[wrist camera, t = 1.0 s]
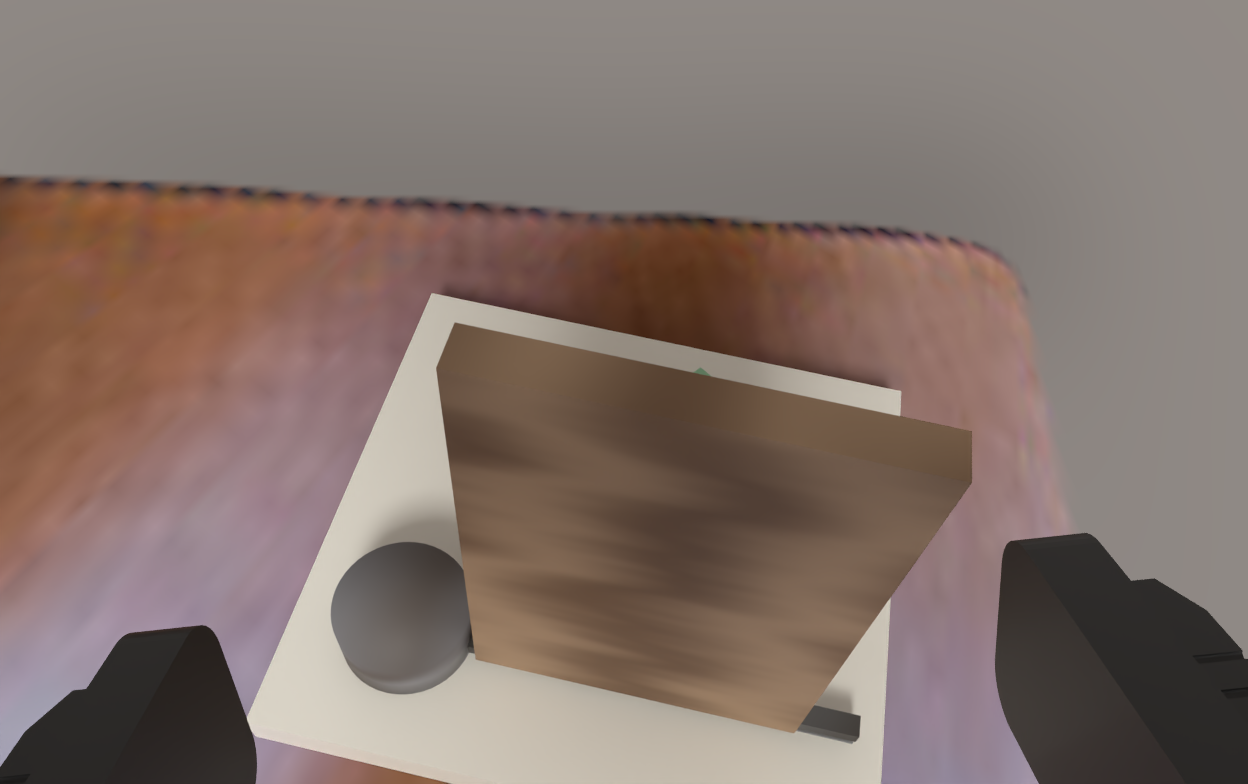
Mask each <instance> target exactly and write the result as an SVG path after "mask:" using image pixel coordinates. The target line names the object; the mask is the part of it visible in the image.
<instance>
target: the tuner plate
mask: <svg viewBox="0 0 1248 784" xmlns="http://www.w3.org/2000/svg"><path fill="white" fill-rule="evenodd" d="M454 323H460V324H465V325H470V326H474V327H479V328H484V329H489V330H493V331H498V332H503V333H508V334H512V335H517V336H522V337H527V338H531V339H536V340H541V341H546V342H550V343H555V344H560V345H565V346H569V347H574V348H579V349H584V350H588V351H593V352H598V353H603V354H607V355H612V356H617V357H622V358H626V359H631V360H636V361H640V362H645V363H650V364H655V365H659V366H664V367H669V368H674V369H678V370H683V371H688V372H693V373H697V374H702V375H707V376H712V377H716V378H721V379H726V380H731V381H735V382H740V383H745V384H750V385H754V386H759V387H764V388H769V389H773V390H778V391H783V392H788V393H792V394H797V395H802V396H807V397H811V398H816V399H821V400H826V401H830V402H835V403H840V404H844V405H849V406H854V407H859V408H863V409H868V410H873V411H878V412H882V413H887V414H892V415H897V416H900V408H901V391H897V390H893V389H888V388H883V387H878V386H873V385H869V384H864V383H859V382H854V381H850V380H845V379H840V378H835V377H830V376H826V375H821V374H816V373H811V372H807V371H802V370H797V369H792V368H787V367H783V366H778V365H773V364H768V363H763V362H759V361H754V360H749V359H744V358H740V357H735V356H730V355H725V354H720V353H716V352H711V351H706V350H701V349H697V348H692V347H687V346H682V345H677V344H673V343H668V342H663V341H658V340H654V339H649V338H644V337H639V336H634V335H630V334H625V333H620V332H615V331H611V330H606V329H601V328H596V327H591V326H587V325H582V324H577V323H572V322H568V321H563V320H558V319H553V318H548V317H544V316H539V315H534V314H529V313H524V312H520V311H515V310H510V309H505V308H501V307H496V306H491V305H486V304H481V303H477V302H472V301H467V300H462V299H458V298H453V297H448V296H443V295H438V294H434V293H432V294H431V296H430V299H429V301H428V303H427V305H426V308H425V310H424V312H423V315H422V317H421V319H420V322H419V324H418V326H417V328H416V331H415V333H414V335H413V338H412V340H411V342H410V344H409V347H408V349H407V351H406V354H405V356H404V358H403V361H402V363H401V365H400V367H399V370H398V372H397V374H396V377H395V379H394V381H393V384H392V386H391V388H390V390H389V393H388V395H387V397H386V400H385V402H384V404H383V406H382V409H381V411H380V413H379V416H378V418H377V420H376V423H375V425H374V427H373V429H372V432H371V434H370V436H369V439H368V441H367V443H366V446H365V448H364V450H363V452H362V455H361V457H360V459H359V462H358V464H357V466H356V469H355V471H354V473H353V475H352V478H351V480H350V482H349V485H348V487H347V489H346V491H345V494H344V496H343V498H342V501H341V503H340V505H339V508H338V510H337V512H336V514H335V517H334V519H333V521H332V524H331V526H330V528H329V531H328V533H327V535H326V537H325V540H324V542H323V544H322V547H321V549H320V551H319V553H318V556H317V558H316V560H315V563H314V565H313V567H312V570H311V572H310V574H309V576H308V579H307V581H306V583H305V586H304V588H303V590H302V593H301V595H300V597H299V599H298V602H297V604H296V606H295V609H294V611H293V613H292V616H291V618H290V620H289V622H288V625H287V627H286V629H285V632H284V634H283V636H282V638H281V641H280V643H279V645H278V648H277V650H276V652H275V655H274V657H273V659H272V661H271V664H270V666H269V668H268V671H267V673H266V675H265V678H264V680H263V682H262V684H261V687H260V689H259V691H258V694H257V696H256V698H255V701H254V703H253V705H252V707H251V710H250V712H249V714H248V717H247V721H248V723H249V726H250V729H251V731H252V732H253V733H254V735H255V736H256V737H260V738H264V739H268V740H272V741H277V742H281V743H285V744H289V745H293V746H297V747H302V748H306V749H310V750H314V751H318V752H322V753H326V754H331V755H335V756H339V757H343V758H347V759H351V760H356V761H360V762H364V763H368V764H372V765H376V766H381V767H385V768H389V769H393V770H397V771H401V772H405V773H410V774H414V775H418V776H422V777H426V778H430V779H435V780H439V781H443V782H447V783H451V784H881V774H882V755H883V736H884V716H885V697H886V678H887V659H888V639H889V620H890V601H891V598H890V599H889V600H888V602H887V603H886V605H885V606H884V607H883V609H882V610H881V612H880V613H879V614H878V616H877V617H876V619H875V620H874V622H873V623H872V624H871V626H870V627H869V629H868V630H867V631H866V633H865V634H864V636H863V637H862V638H861V640H860V641H859V643H858V644H857V646H856V647H855V648H854V650H853V651H852V653H851V654H850V655H849V657H848V658H847V660H846V661H845V663H844V664H843V665H842V667H841V668H840V670H839V671H838V672H837V674H836V675H835V677H834V678H833V679H832V681H831V682H830V684H829V685H828V687H827V688H826V689H825V691H824V692H823V694H822V695H821V696H820V698H819V699H818V701H817V702H816V703H815V705H816V706H820V707H825V708H829V709H834V710H838V711H842V712H847V713H851V714H855V715H860V716H861V720H860V736H859V738H858V739H857V741H856V742H853V741H849V740H844V739H840V738H836V737H831V736H827V735H823V734H818V733H814V732H810V731H805V730H801V729H797V730H796V732H795V733H790V732H785V731H781V730H777V729H772V728H768V727H764V726H759V725H755V724H751V723H746V722H742V721H738V720H734V719H729V718H725V717H721V716H716V715H712V714H708V713H703V712H699V711H695V710H690V709H686V708H682V707H678V706H673V705H669V704H665V703H660V702H656V701H652V700H647V699H643V698H639V697H634V696H630V695H626V694H622V693H617V692H613V691H609V690H604V689H600V688H596V687H591V686H587V685H583V684H578V683H574V682H570V681H566V680H561V679H557V678H553V677H548V676H544V675H540V674H535V673H531V672H527V671H522V670H518V669H514V668H510V667H505V666H501V665H497V664H492V663H488V662H484V661H479V660H476V659H475V654H473V653H469V654H468V655H467V657H466V659H465V661H464V662H463V663H462V665H461V666H460V667H459V668H458V670H457V671H456V672H455V673H454V674H453V675H451V676H450V677H449V678H448V679H447V680H445V681H444V682H442V683H441V684H439V685H437V686H435V687H433V688H431V689H428V690H425V691H422V692H418V693H414V694H391V693H385V692H382V691H379V690H376V689H374V688H372V687H370V686H368V685H367V684H365V683H364V682H362V681H361V680H360V679H359V678H358V677H357V676H356V675H355V674H354V673H353V672H352V670H351V669H350V667H349V666H348V664H347V662H346V660H345V658H344V655H343V653H342V651H341V648H340V646H339V644H338V641H337V639H336V637H335V634H334V632H333V628H332V624H331V604H332V599H333V595H334V592H335V589H336V587H337V585H338V583H339V581H340V580H341V578H342V577H343V575H344V574H345V572H346V571H347V570H348V569H349V568H350V567H351V566H352V565H353V564H354V563H355V562H356V561H357V560H358V559H360V558H361V557H363V556H364V555H365V554H367V553H369V552H371V551H372V550H375V549H377V548H379V547H382V546H385V545H388V544H393V543H399V542H417V543H424V544H427V545H431V546H434V547H436V548H438V549H441V550H442V551H444V552H446V553H447V554H449V555H450V556H451V557H452V558H454V559H455V560H456V561H457V563H458V564H459V565H460V566H461V567H462V569H463V563H462V556H461V548H460V541H459V534H458V526H457V519H456V512H455V504H454V497H453V490H452V482H451V475H450V468H449V460H448V453H447V446H446V438H445V431H444V424H443V416H442V409H441V401H440V394H439V387H438V379H437V372H436V367H437V364H438V362H439V359H440V357H441V355H442V352H443V350H444V347H445V345H446V342H447V340H448V337H449V335H450V332H451V330H452V328H453V325H454Z"/></svg>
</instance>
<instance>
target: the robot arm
mask: <svg viewBox="0 0 1248 784" xmlns="http://www.w3.org/2000/svg"><path fill="white" fill-rule="evenodd" d="M995 673H996V682H997V688H998V693H999V697H1000V701H1001V705H1002V708H1003V711H1004V714H1005V717H1006V720H1007V722H1008V724H1009V726H1010V729H1011V731H1012V733H1013V734H1014V736H1015V738H1016V740H1017V742H1018V744H1019V746H1020V748H1021V750H1022V752H1023V754H1024V756H1025V758H1026V760H1027V761H1028V763H1029V765H1030V767H1031V769H1032V771H1033V773H1034V775H1035V777H1036V779H1037V781H1038V783H1039V784H1248V659H1244V657H1243V654H1242V650H1241V648H1240V647H1239V646H1238V645H1237V644H1236V643H1235V642H1234V641H1233V639H1232V638H1231V637H1230V636H1229V635H1228V634H1227V633H1226V632H1225V631H1224V629H1223V628H1222V627H1221V626H1220V625H1219V624H1218V623H1217V622H1216V621H1215V619H1214V618H1213V617H1212V616H1211V615H1210V614H1209V613H1208V611H1206V610H1205V609H1204V608H1202V607H1200V606H1199V605H1197V604H1195V603H1194V602H1192V601H1190V600H1189V599H1187V598H1185V597H1184V596H1182V595H1181V594H1179V593H1177V592H1176V591H1174V590H1172V589H1171V588H1169V587H1168V586H1166V585H1164V584H1163V583H1161V582H1159V581H1158V580H1156V579H1145V580H1136V581H1131V580H1130V579H1129V578H1128V577H1127V575H1126V574H1125V573H1124V572H1123V570H1122V569H1121V568H1120V567H1119V566H1118V564H1117V563H1116V562H1115V561H1114V559H1113V558H1112V557H1111V556H1110V555H1109V553H1108V552H1107V551H1106V550H1105V548H1104V547H1103V546H1102V545H1101V544H1100V542H1099V541H1098V540H1097V539H1096V538H1095V537H1093V536H1092V535H1090V534H1088V533H1081V534H1072V535H1062V536H1053V537H1044V538H1034V539H1025V540H1016V541H1010V542H1009V543H1008V544H1007V545H1006V547H1005V549H1004V553H1003V558H1002V568H1001V583H1000V597H999V611H998V626H997V640H996V655H995ZM256 773H257V757H256V747H255V742H254V738H253V735H252V732H251V729H250V726H249V723H248V721H247V718H246V715H245V712H244V709H243V707H242V704H241V701H240V698H239V696H238V693H237V690H236V687H235V685H234V682H233V679H232V676H231V674H230V671H229V668H228V665H227V663H226V660H225V657H224V654H223V651H222V649H221V646H220V643H219V641H218V639H217V637H216V635H215V634H214V632H213V631H212V630H211V629H210V628H209V627H207V626H203V625H200V626H191V627H181V628H172V629H163V630H153V631H144V632H135V633H129V634H127V635H124V636H123V637H122V638H121V639H120V640H119V641H118V642H117V644H116V645H115V646H114V648H113V649H112V651H111V652H110V654H109V655H108V657H107V659H106V660H105V662H104V663H103V665H102V666H101V668H100V669H99V671H98V672H97V674H96V675H95V677H94V678H93V680H92V681H91V683H90V684H89V686H88V687H87V689H83V690H73V691H72V692H71V693H70V694H68V695H67V696H66V697H65V698H64V699H63V700H61V701H60V702H59V703H58V704H57V705H56V706H54V707H53V708H52V709H51V710H50V711H49V712H47V713H46V714H45V715H44V716H43V717H42V718H40V719H39V720H38V721H37V722H36V723H35V724H33V725H32V726H31V727H30V728H29V729H28V730H26V731H25V732H24V734H23V735H22V737H21V738H20V740H19V741H18V743H17V744H16V745H15V747H14V748H13V750H12V751H11V753H10V754H9V755H8V757H7V758H6V760H5V761H4V763H3V764H2V765H1V767H0V784H255V783H256Z"/></svg>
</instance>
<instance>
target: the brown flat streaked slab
mask: <svg viewBox="0 0 1248 784" xmlns="http://www.w3.org/2000/svg"><path fill="white" fill-rule="evenodd" d="M436 372H437V379H438V387H439V394H440V401H441V409H442V416H443V424H444V431H445V438H446V446H447V453H448V460H449V468H450V475H451V482H452V490H453V497H454V504H455V512H456V519H457V526H458V534H459V541H460V548H461V556H462V563H463V569H462V567H461V566H460V565H459V564H458V563H457V561H456V560H455V559H454V558H452V557H451V556H450V555H449V554H447V553H446V552H444V551H442V550H441V549H438V548H436V547H434V546H431V545H427V544H424V543H417V542H399V543H393V544H388V545H385V546H382V547H379V548H377V549H375V550H372V551H371V552H369V553H367V554H365V555H364V556H363V557H361V558H360V559H358V560H357V561H356V562H355V563H354V564H353V565H352V566H351V567H350V568H349V569H348V570H347V571H346V572H345V574H344V575H343V577H342V578H341V580H340V581H339V583H338V585H337V587H336V589H335V592H334V595H333V599H332V604H331V624H332V628H333V632H334V634H335V637H336V639H337V641H338V644H339V646H340V648H341V651H342V653H343V655H344V658H345V660H346V662H347V664H348V666H349V667H350V669H351V670H352V672H353V673H354V674H355V675H356V676H357V677H358V678H359V679H360V680H361V681H362V682H364V683H365V684H367V685H368V686H370V687H372V688H374V689H376V690H379V691H382V692H385V693H391V694H414V693H418V692H422V691H425V690H428V689H431V688H433V687H435V686H437V685H439V684H441V683H442V682H444V681H445V680H447V679H448V678H449V677H450V676H451V675H453V674H454V673H455V672H456V671H457V670H458V668H459V667H460V666H461V665H462V663H463V662H464V661H465V659H466V657H467V655H468V654H469V653H473V654H475V659H476V660H479V661H484V662H488V663H492V664H497V665H501V666H505V667H510V668H514V669H518V670H522V671H527V672H531V673H535V674H540V675H544V676H548V677H553V678H557V679H561V680H566V681H570V682H574V683H578V684H583V685H587V686H591V687H596V688H600V689H604V690H609V691H613V692H617V693H622V694H626V695H630V696H634V697H639V698H643V699H647V700H652V701H656V702H660V703H665V704H669V705H673V706H678V707H682V708H686V709H690V710H695V711H699V712H703V713H708V714H712V715H716V716H721V717H725V718H729V719H734V720H738V721H742V722H746V723H751V724H755V725H759V726H764V727H768V728H772V729H777V730H781V731H785V732H790V733H795V732H796V730H797V729H801V730H805V731H810V732H814V733H818V734H823V735H827V736H831V737H836V738H840V739H844V740H849V741H853V742H856V741H857V739H858V738H859V736H860V720H861V716H860V715H855V714H851V713H847V712H842V711H838V710H834V709H829V708H825V707H820V706H816V705H815V703H816V702H817V701H818V699H819V698H820V696H821V695H822V694H823V692H824V691H825V689H826V688H827V687H828V685H829V684H830V682H831V681H832V679H833V678H834V677H835V675H836V674H837V672H838V671H839V670H840V668H841V667H842V665H843V664H844V663H845V661H846V660H847V658H848V657H849V655H850V654H851V653H852V651H853V650H854V648H855V647H856V646H857V644H858V643H859V641H860V640H861V638H862V637H863V636H864V634H865V633H866V631H867V630H868V629H869V627H870V626H871V624H872V623H873V622H874V620H875V619H876V617H877V616H878V614H879V613H880V612H881V610H882V609H883V607H884V606H885V605H886V603H887V602H888V600H889V599H890V598H891V596H892V595H893V593H894V592H895V590H896V589H897V588H898V586H899V585H900V583H901V582H902V581H903V579H904V578H905V576H906V575H907V574H908V572H909V571H910V569H911V568H912V566H913V565H914V564H915V562H916V561H917V559H918V558H919V557H920V555H921V554H922V552H923V551H924V550H925V548H926V547H927V545H928V544H929V542H930V541H931V540H932V538H933V537H934V535H935V534H936V533H937V531H938V530H939V528H940V527H941V525H942V524H943V523H944V521H945V520H946V518H947V517H948V516H949V514H950V513H951V511H952V510H953V509H954V507H955V506H956V504H957V503H958V501H959V500H960V499H961V497H962V496H963V494H964V493H965V492H966V490H967V489H968V487H969V486H970V485H971V483H972V431H968V430H963V429H958V428H954V427H949V426H944V425H939V424H935V423H930V422H925V421H920V420H916V419H911V418H906V417H901V416H897V415H892V414H887V413H882V412H878V411H873V410H868V409H863V408H859V407H854V406H849V405H844V404H840V403H835V402H830V401H826V400H821V399H816V398H811V397H807V396H802V395H797V394H792V393H788V392H783V391H778V390H773V389H769V388H764V387H759V386H754V385H750V384H745V383H740V382H735V381H731V380H726V379H721V378H716V377H712V376H707V375H702V374H697V373H693V372H688V371H683V370H678V369H674V368H669V367H664V366H659V365H655V364H650V363H645V362H640V361H636V360H631V359H626V358H622V357H617V356H612V355H607V354H603V353H598V352H593V351H588V350H584V349H579V348H574V347H569V346H565V345H560V344H555V343H550V342H546V341H541V340H536V339H531V338H527V337H522V336H517V335H512V334H508V333H503V332H498V331H493V330H489V329H484V328H479V327H474V326H470V325H465V324H460V323H454V325H453V328H452V330H451V332H450V335H449V337H448V340H447V342H446V345H445V347H444V350H443V352H442V355H441V357H440V359H439V362H438V364H437V367H436Z"/></svg>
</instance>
